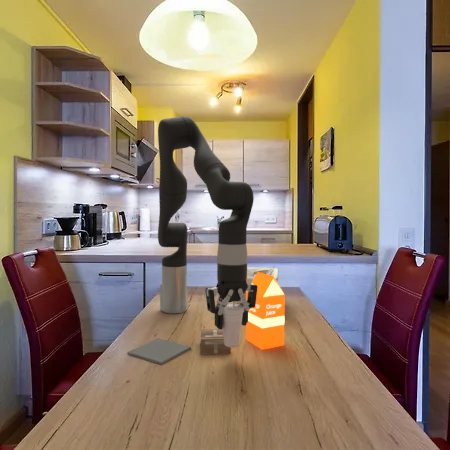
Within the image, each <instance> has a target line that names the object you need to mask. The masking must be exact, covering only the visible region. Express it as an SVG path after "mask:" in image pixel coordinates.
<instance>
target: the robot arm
mask: <svg viewBox="0 0 450 450" xmlns="http://www.w3.org/2000/svg"><path fill="white" fill-rule="evenodd" d="M157 139H158V140H157V141H158V153H159V154H158V156H159V182H158V183H159V185H158V190H159V191H158V195H159V196H158V197H159V201H158V202H159V217H158V227H157V241H158V244H159V246H160V247H161V248H177V250H176V251H175V252H174V253H171V254H169V255H167V256H164V257H162V260H161V284H160V286H159V311H162V313H165V314H182V313H185V312H186V311H187V310H188V309H187V307H188V302H187V301H188V298H187V297H188V295H187V294H188V292H187V291H188V290H187V289H188V287H187V286H188V285H187V283H188V281H187V279H188V278H187V275H188V271H187V268H188V265H187V264H188V263H187V262H188V261H187V259H188V258H187V257H188V256H187V252H188V251H187V249H188V248H187V246H188V227H187V224H186V223H185V222H171V219H172V218H173V217H174V216H175V214H176V213H177V212H178V211H179V210H180V209H181V208H182V207H183V206H184V204H185V203H186V201H187V193H188V181H187V178H186V177H185V175H184V173H183V172H182V170H181V169H180V168H179V167H178V165H177V164H176V163H175V160H174V151H175V150H180V149H187V148H192V149H193V150H194V156H193V167H194V170H195V172H196V174H197V176H198V177H199V178H200V179H201V180H202V182H203V183H204V184H205V185H206V188H207V191H208V195H209V197H210V200H211V203H212V204H213V205H214V206H215V207H216V208H218V209H219V210H223V211H231V213H230V216H229V217H228V218H226V219H223V220H221V221H220V222H219V224H218V247H217V251H216V252H217V254H216V255H217V257H216V262H217V264H216V265H217V266H216V267H217V269H216V270H217V271H216V273H217V274H216V278H217V279H216V280H217V283H216V286H215V287H211V288H210V287H206V288H205V290H204V291H205V298H206V300H205V301H206V308H207V311H208V312H209V313H212V314H213V315H214V326H215V327H216V329H219V330H220V329H223V315H222V313H223V310H224V308H225V307H226V306H227V304H229V303H233V301H238V302H239V304H240V305H242V306H243V307H244V312H243V317H242V324H241V326H244V327H246V324H247V323H248V311H249V309H251V308H254V307H255V305H256V297H257V288H258V286H257V285H255V284H252V283H250V284H247V282H246V279H247V267H248V248H247V247H248V246H247V228H248V223H249V221H250V216H251V213H252V209H253V205H254V199H255V198H254V191H253V189H252V186H251V185H250V184H249V183H247V182H244V181H231V173H230V170H229V169H228V168H227V166H226V165H225V164H224V163H223V162H222V160H220V158H218V156H216V154H215V152H213V150H212V149H211V147H210V145H209V143H208V142H207V140H206V138H205V136H204V135H203V133H202V131H201V129H200V128H199V126H198V124H197V123H196V122H195V120H194V119H193V118H192V117H190V116H188V115H187V116H184V115H183V116H174V117H168V118H164V119H161V120H160V121H159V123H158V127H157ZM246 290H247V291H248V298H247V300H246V298H245V296H244V293H245V292H246ZM217 293H218V298H217V300H216V299H215V297H216V296H217Z"/></svg>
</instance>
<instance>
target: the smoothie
mask: <svg viewBox="0 0 450 450" xmlns="http://www.w3.org/2000/svg"><path fill="white" fill-rule="evenodd" d="M243 312H244V307H243V306H242V305H239V304H235V301H232V303H228V304H227V306H226V307H225V308H224V310H223V313H222V315H223V337H224V345H225V346H227V347H231V348H237V347H238V346H239V345H240V338H241V331H242V325H241V324H242V317H243Z"/></svg>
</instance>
